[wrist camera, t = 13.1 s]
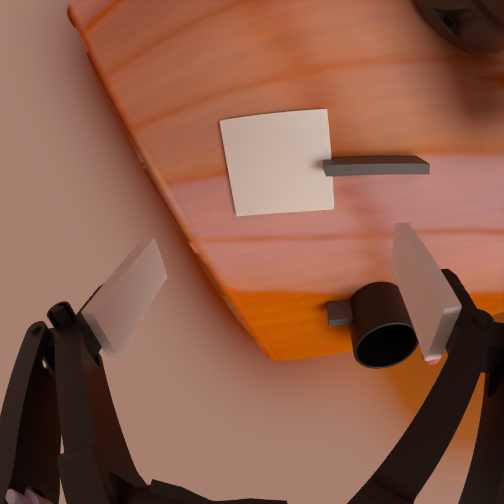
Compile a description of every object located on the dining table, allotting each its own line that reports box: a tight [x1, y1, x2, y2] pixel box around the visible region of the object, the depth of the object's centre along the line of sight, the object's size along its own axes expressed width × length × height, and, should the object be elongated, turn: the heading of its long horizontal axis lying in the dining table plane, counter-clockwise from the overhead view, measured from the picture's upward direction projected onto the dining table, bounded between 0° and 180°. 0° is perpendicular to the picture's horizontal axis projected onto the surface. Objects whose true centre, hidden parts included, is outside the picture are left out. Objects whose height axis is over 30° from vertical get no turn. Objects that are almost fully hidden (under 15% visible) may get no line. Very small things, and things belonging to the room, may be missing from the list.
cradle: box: [323, 156, 441, 365], centre depth 31 cm, size 23×15×13 cm, turn 8°
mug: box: [349, 282, 419, 369], centre depth 39 cm, size 9×12×9 cm
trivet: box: [220, 109, 334, 216], centre depth 33 cm, size 12×12×1 cm
